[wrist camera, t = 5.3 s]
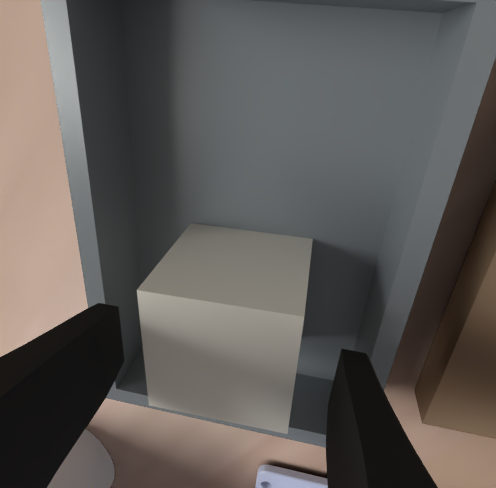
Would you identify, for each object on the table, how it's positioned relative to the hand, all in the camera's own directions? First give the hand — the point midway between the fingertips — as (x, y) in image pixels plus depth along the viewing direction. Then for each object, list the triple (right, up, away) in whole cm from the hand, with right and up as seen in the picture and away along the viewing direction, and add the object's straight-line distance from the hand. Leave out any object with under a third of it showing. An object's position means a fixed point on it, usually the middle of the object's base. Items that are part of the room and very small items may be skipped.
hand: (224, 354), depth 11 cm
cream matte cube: (+1, +2, +3) cm, 3 cm away
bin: (+1, +4, +2) cm, 5 cm away
